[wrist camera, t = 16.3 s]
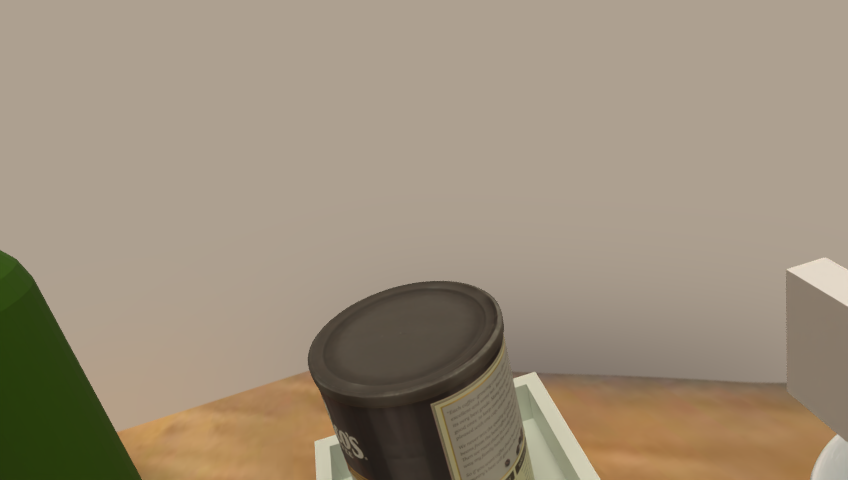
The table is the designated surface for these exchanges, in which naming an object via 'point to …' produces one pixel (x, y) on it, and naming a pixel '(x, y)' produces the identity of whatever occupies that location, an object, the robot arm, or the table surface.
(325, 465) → the tray
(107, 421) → the wine bottle
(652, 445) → the table surface
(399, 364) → the coffee can
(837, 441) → the cereal bowl
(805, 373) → the robot arm
